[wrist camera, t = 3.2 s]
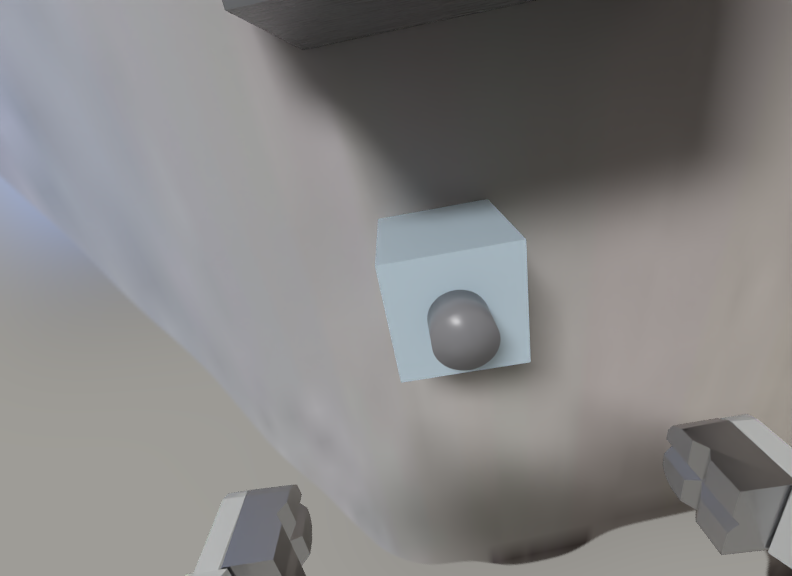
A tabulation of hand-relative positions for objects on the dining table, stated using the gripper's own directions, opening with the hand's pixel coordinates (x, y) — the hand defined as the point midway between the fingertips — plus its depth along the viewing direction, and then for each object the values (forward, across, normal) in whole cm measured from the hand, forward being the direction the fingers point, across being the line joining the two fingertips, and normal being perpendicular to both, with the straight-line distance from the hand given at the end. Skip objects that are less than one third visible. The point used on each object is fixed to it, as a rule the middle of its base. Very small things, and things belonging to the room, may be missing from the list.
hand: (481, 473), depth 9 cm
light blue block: (+12, -1, 0) cm, 12 cm away
